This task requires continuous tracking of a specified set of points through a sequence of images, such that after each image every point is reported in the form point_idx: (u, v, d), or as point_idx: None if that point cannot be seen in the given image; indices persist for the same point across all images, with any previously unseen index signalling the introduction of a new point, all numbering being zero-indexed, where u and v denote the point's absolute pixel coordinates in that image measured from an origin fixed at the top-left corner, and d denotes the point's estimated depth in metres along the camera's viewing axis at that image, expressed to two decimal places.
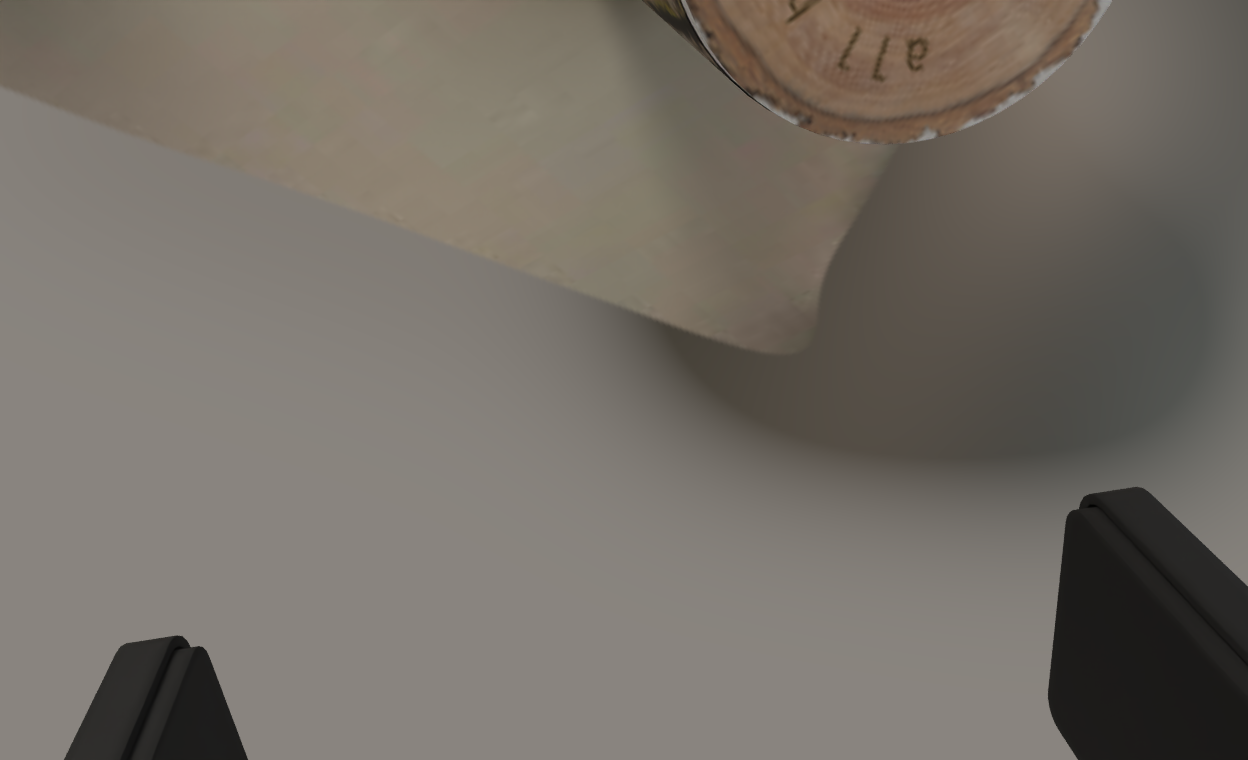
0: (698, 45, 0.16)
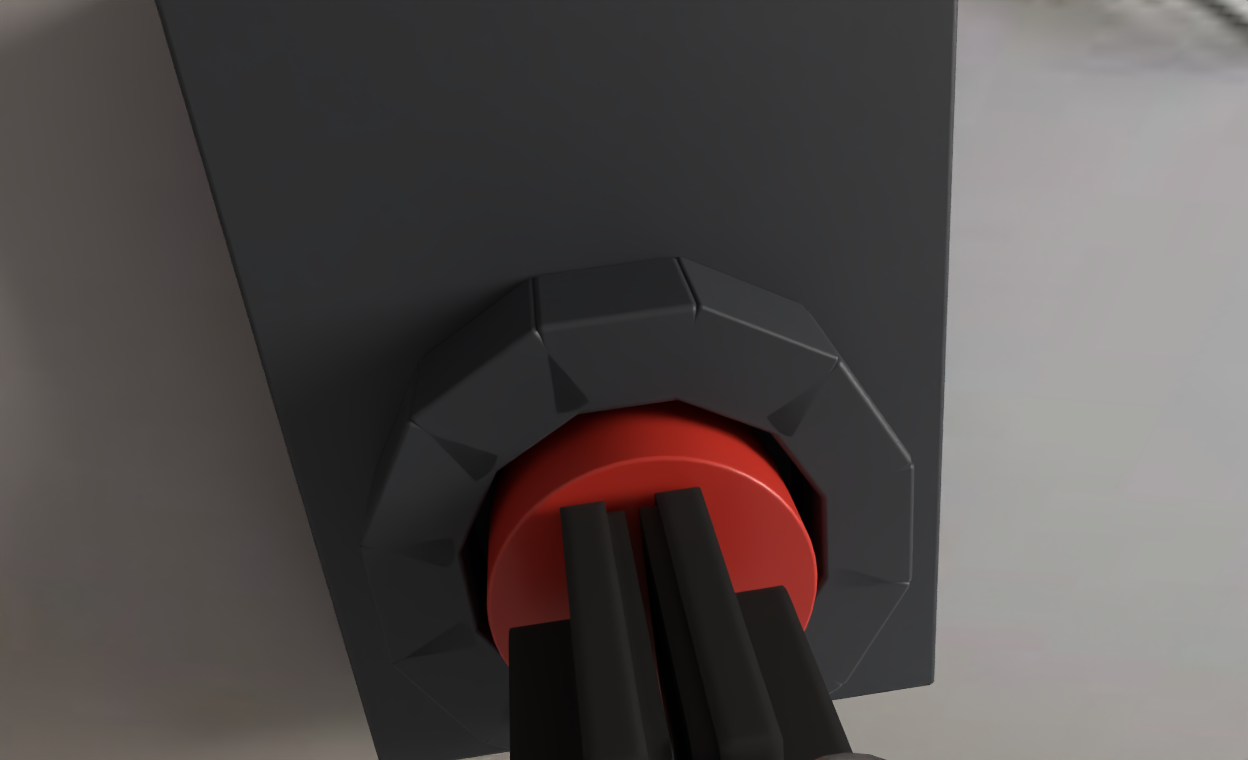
0: None
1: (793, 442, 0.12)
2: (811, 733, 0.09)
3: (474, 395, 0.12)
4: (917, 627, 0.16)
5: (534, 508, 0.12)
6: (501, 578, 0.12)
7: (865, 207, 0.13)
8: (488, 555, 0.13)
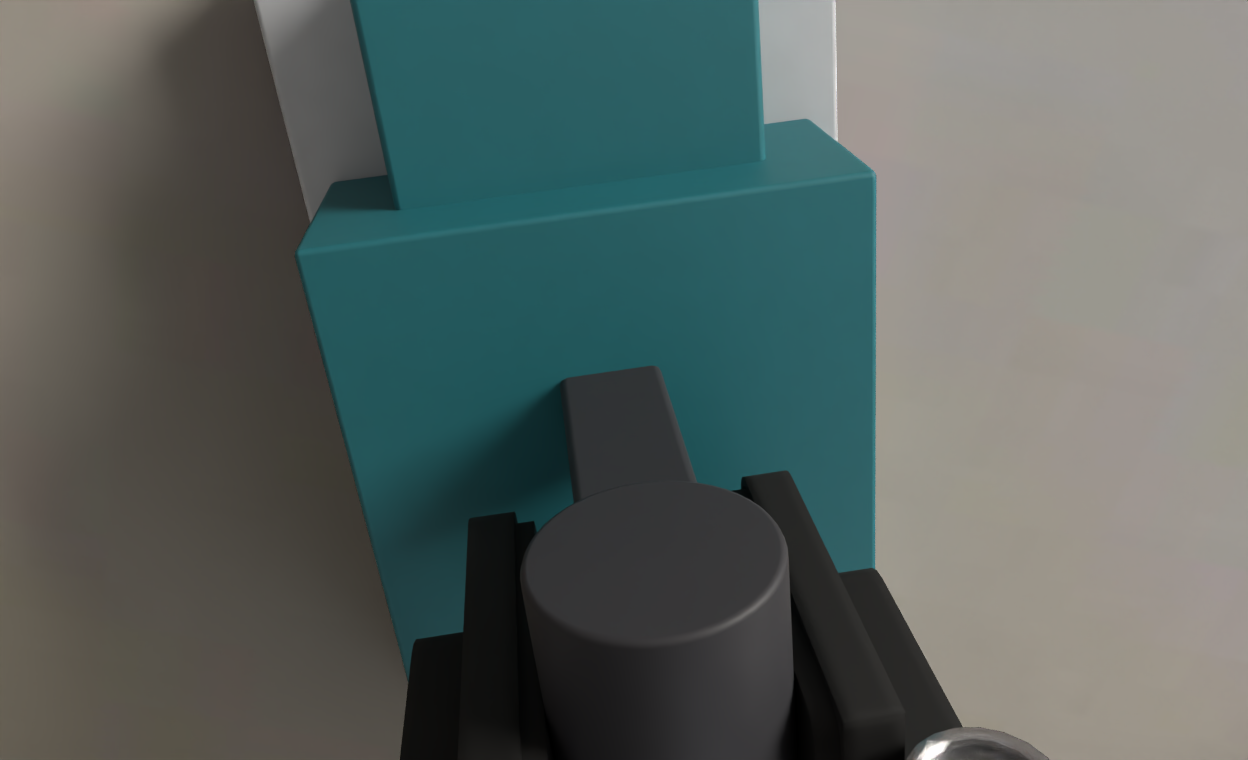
0: None
1: None
2: (919, 710, 0.09)
3: None
4: None
5: None
6: None
7: None
8: None
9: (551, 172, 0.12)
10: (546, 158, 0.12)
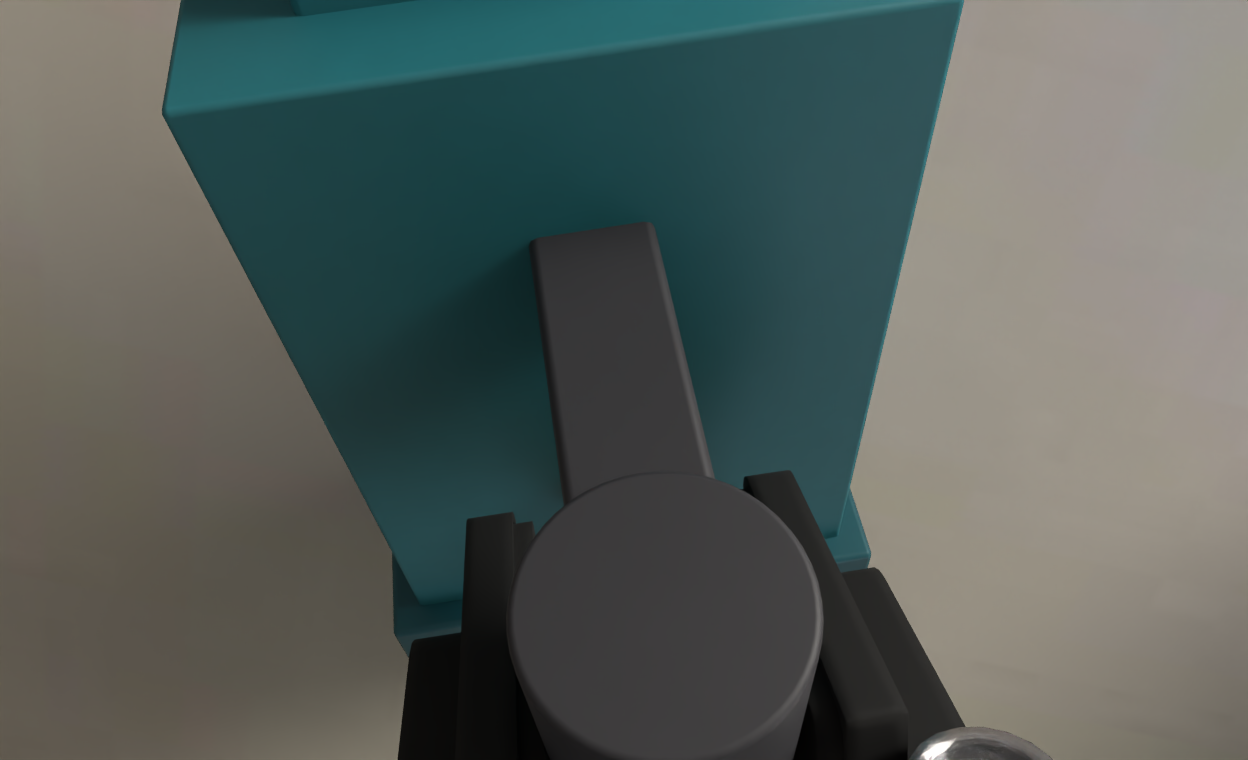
0: None
1: None
2: (922, 709, 0.09)
3: None
4: None
5: None
6: None
7: None
8: None
9: None
10: None
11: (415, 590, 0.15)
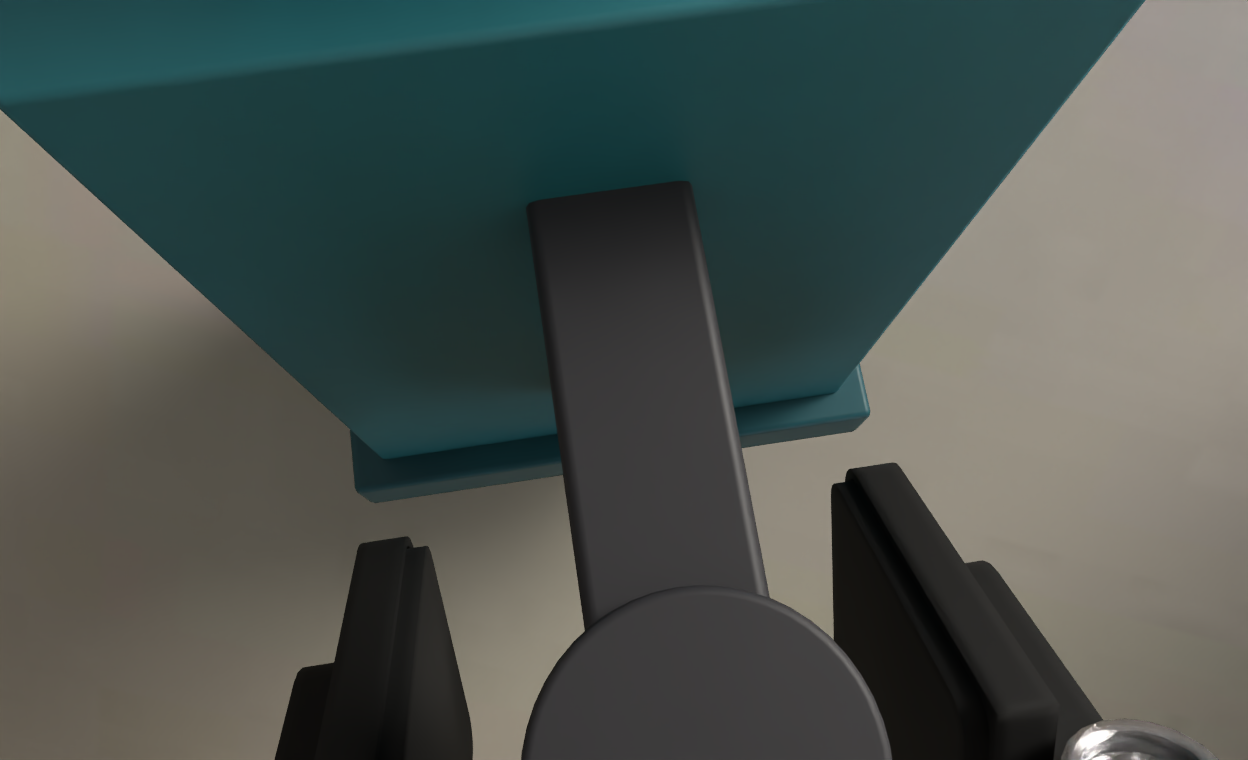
0: None
1: None
2: None
3: None
4: None
5: None
6: None
7: None
8: None
9: None
10: None
11: (376, 451, 0.14)
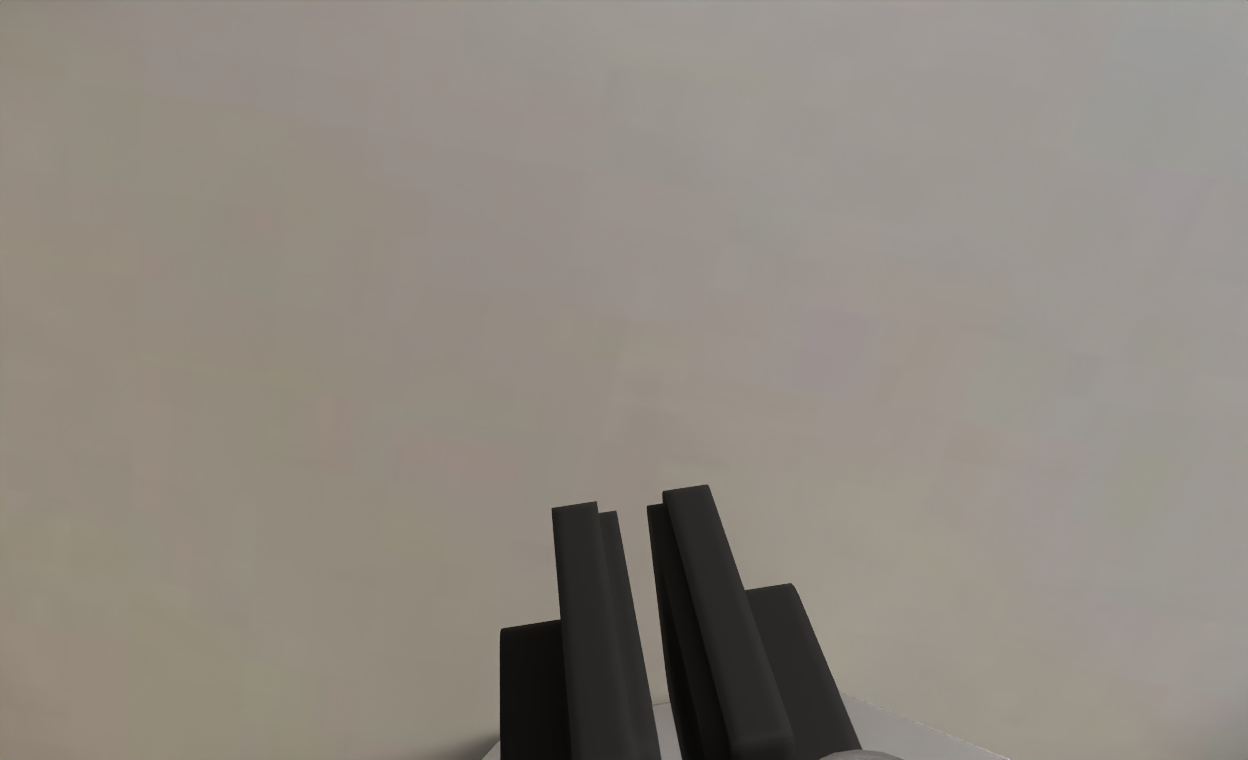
0: None
1: None
2: (821, 730, 0.09)
3: None
4: None
5: None
6: None
7: None
8: None
9: None
10: None
11: None
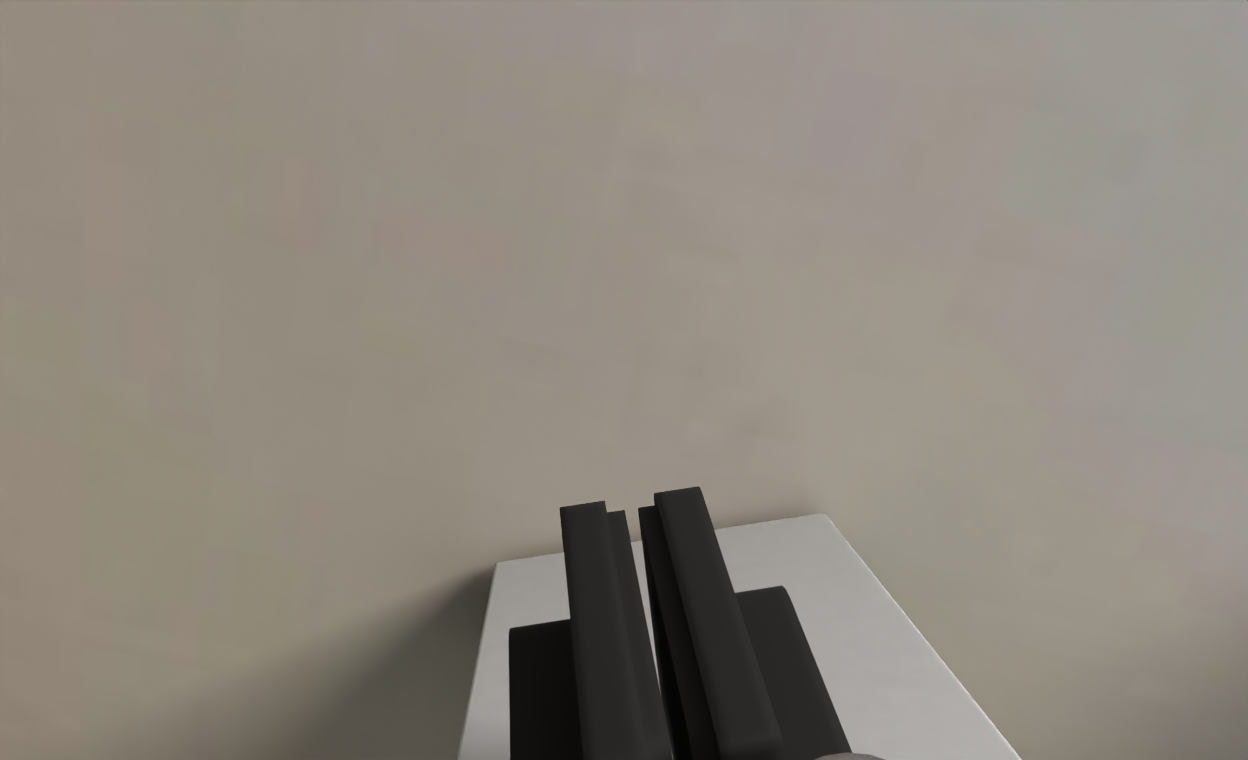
0: None
1: None
2: (810, 733, 0.09)
3: None
4: None
5: None
6: None
7: None
8: None
9: None
10: None
11: None
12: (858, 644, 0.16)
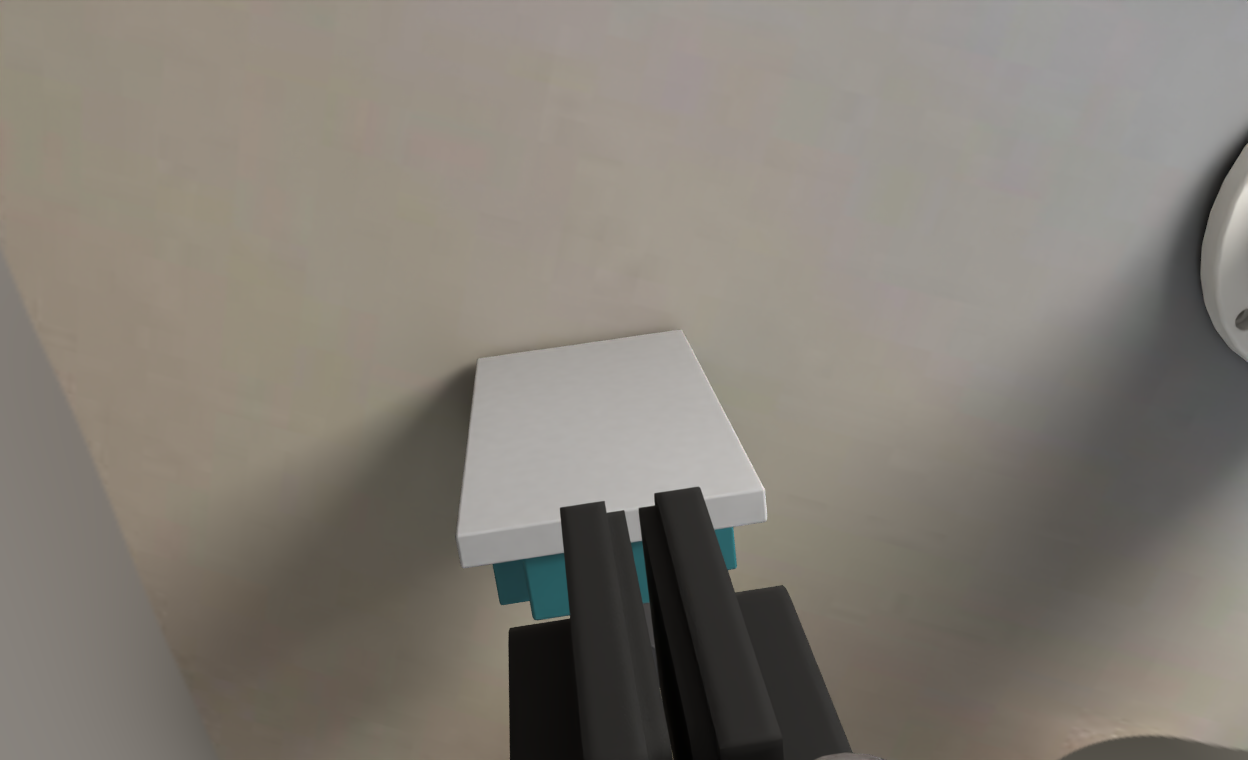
0: None
1: None
2: (811, 733, 0.09)
3: None
4: None
5: None
6: None
7: None
8: None
9: None
10: None
11: None
12: (679, 395, 0.30)
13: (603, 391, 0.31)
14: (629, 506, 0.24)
